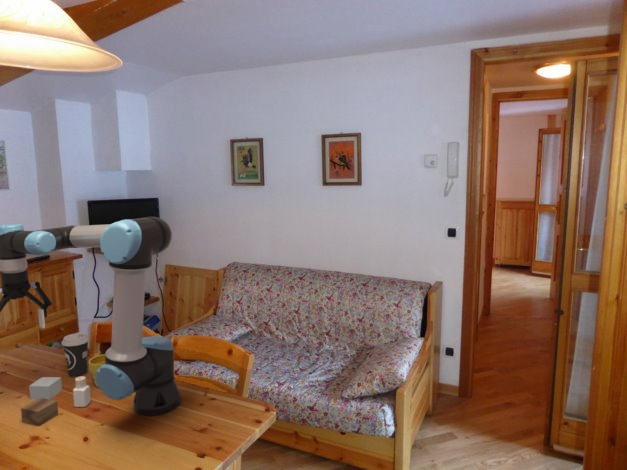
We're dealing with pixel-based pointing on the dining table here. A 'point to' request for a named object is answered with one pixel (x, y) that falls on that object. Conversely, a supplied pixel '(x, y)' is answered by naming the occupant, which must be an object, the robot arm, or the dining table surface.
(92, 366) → the plant pot
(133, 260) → the robot arm
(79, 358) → the coffee cup
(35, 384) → the grey-blue block
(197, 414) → the dining table surface
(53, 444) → the dining table surface
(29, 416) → the walnut block
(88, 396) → the pepper shaker
